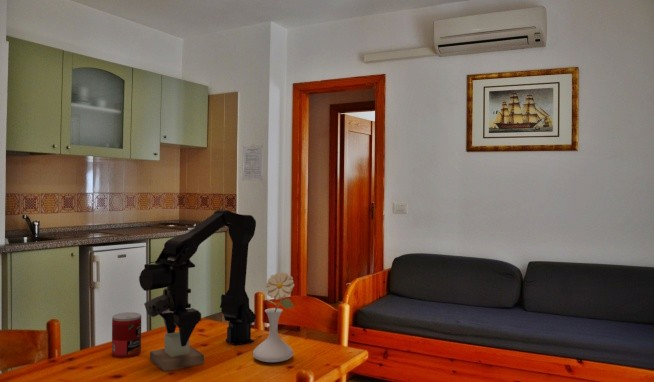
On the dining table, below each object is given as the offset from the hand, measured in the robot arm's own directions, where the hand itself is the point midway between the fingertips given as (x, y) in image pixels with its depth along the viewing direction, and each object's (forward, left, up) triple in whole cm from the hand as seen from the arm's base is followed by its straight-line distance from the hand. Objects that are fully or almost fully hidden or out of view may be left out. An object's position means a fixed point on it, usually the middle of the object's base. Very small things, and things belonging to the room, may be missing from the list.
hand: (176, 342), depth 141 cm
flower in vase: (-23, +14, -6) cm, 28 cm away
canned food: (+9, -15, -6) cm, 18 cm away
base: (0, 0, -6) cm, 6 cm away
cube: (0, 0, -3) cm, 3 cm away
